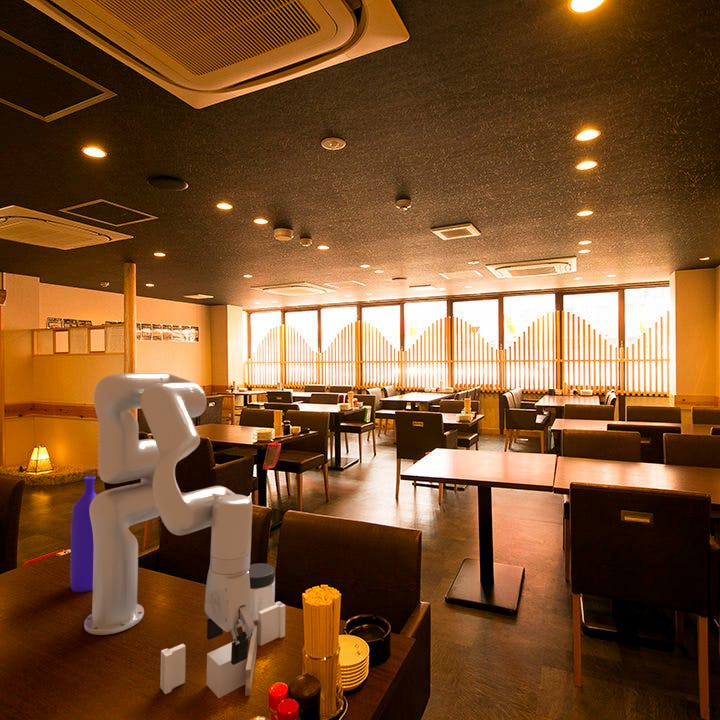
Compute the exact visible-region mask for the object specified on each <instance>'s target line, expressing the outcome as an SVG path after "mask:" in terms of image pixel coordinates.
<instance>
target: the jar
mask: <svg viewBox="0 0 720 720" xmlns="http://www.w3.org/2000/svg"><path fill="white" fill-rule="evenodd" d="M248 571H249V578H250V617H251V619H252V621H254V620H258V612H259V611H261V610H264V609H266V608H268V607H271V606H273V605H275V603H276V602H275V597H276V591H275V590H276V573H275V571H276V570H275V567H274V566H273V565H271V564H269V563H264V562H263V563H262V562H260V563H252V564H251V563H250V569H249V570H248ZM240 622H241V621H240V620H238V623H240Z"/></svg>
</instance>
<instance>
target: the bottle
mask: <svg viewBox="0 0 720 720" xmlns="http://www.w3.org/2000/svg"><path fill="white" fill-rule="evenodd" d="M96 479H97V477H96V476H93V475H92V476H85V477H84V478H83V479H82V480H83V481H85V489H84V493H83V494H82V495H81V496H80V498H79V499H78V500H76V502H75V503H74V505H73V508H72V511H71V525H70V526H71V530H70V560H69V561H70V566H69V567H70V569H69V570H70V571H69V572H70V573H69V575H70V576H69V578H70V589H71V590H72V592H75V593H85V592H86V593H87V592H91V591H93V531H92V525H91V520H90V513H89V508H90V504H91V502H92V500H93V499H94V497H96V496H97V495H98V494H97V493H96V492H95V489H94V488H95V487H94V485H95V483H94V482H95V480H96Z"/></svg>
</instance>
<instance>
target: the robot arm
mask: <svg viewBox="0 0 720 720" xmlns="http://www.w3.org/2000/svg"><path fill="white" fill-rule="evenodd" d="M207 403H208V402H207V396H206V393H205V391H204V390H203V388H202V386H200V385H199V384H197V383H196V382H194V381H191V380H188V379H186V378H183V377H179V376H176V375H174V374H170V373H165V372H164V373H161V372H159V373H158V372H153V373H147V372H146V373H143V372H141V373H140V372H133V373H131V372H128V373H115V374H110V375H107V376H105V377H103V378H101V379H100V380H99V381H98V383H97V384H96V386H95V389H94V394H93V404H94V409H95V414H96V418H97V421H98V422H97V423H98V452H97V453H98V455H97V456H98V459H97V460H98V461H97V463H98V464H97V465H98V466H97V467H98V468H97V470H98V476H99V478H100V479H101V481H102V482H103V483H106V484H121V483H126V482H130V481H135V480H140V482H138V483H133V484H127V485H124V486H119V487H113V488H109V489H107V490H105V491H104V490H103V491H102V492H100V493H98V494H97V496H96V497H94V499H93V500H92V502H91V504H90V508H89V513H90V520H91V525H92V531H93V590H92V603H91V604H92V606H91V607H92V609H91V614H89V615H88V616H87V617H86V618H85V620H84V624H83V626H84V630H85V631H86V632H87V633H88V634H91V635H98V636H100V635H101V636H103V635H105V636H107V635H112V634H118V633H120V632H123V631H124V632H125V630H129V629H131V628H132V627H134V626H135V625H137V624H138V623H140V621H141V620H142V619H143V617H144V615H145V609H144V607H143V606H142V605H141V604H139V603H138V579H139V577H138V576H139V575H138V573H139V570H138V569H139V543H138V539H137V538H136V536H135V535H134V534H133V533H132V531H130V529H129V528H130V527H131V526H134V525H136V524H139V523H144V522H145V521H149V520H153V519H155V518H158V517H160V519H161V520H162V523H163V525H164V526H165V527H166V529H167V530H168V531H169V532H170V533H171V534H173V535H176V536H184V535H189V534H190V533H191V534H192V533H195V532H197V531H200V530H203V529H206V528H208V527H209V528H210V527H211V536H210V539H211V540H210V561H209V567H208V568H209V569H208V573H207V576H206V577H207V579H206V585H205V590H204V593H205V595H204V612H205V615H206V618H207V621H206V623H207V624H206V639H207V640H208V641H210V640H212V639H215V638H217V637H220V636H222V635H223V631H224V632H226V633H228V632H231V636H232V639H233V641H234V642H233V641H232V642H233V643H232V650H231V664H232V665H235V664H237V663H239V662H241V661H243V660H245V659H247V657H248V654H249V641H250V640H251V636H252V632H253V630H254V628H255V625H254V623H253V621H252V619H251V617H250V578H249V571H248V570H249V569H250V565H251V552H252V551H251V549H252V531H253V530H252V528H253V527H252V525H253V509H254V508H253V502H252V500H251V498H250V497H249V496H247V495H244V494H239V493H237V494H236V493H235V492H233V491H232V490H230V489H229V488H227V487H225V486H222V485H214V486H209V487H205V488H201V489H196V490H193V491H189V492H186V493H182V492H181V490H180V487H179V485H178V482H177V480H176V466H177V464H178V462H180V461H181V460H182V459H185V458H186V457H187V456H189V455H190V454H191V453H192V452H194V451H195V450H197V448H199V445H200V443H201V437H200V435H199V432H198V430H197V428H196V426H195V424H194V421H193V418H197V417H200V416H201V415H202V414H204V413H205V411H206V408H207ZM136 409H138V410H139V409H141V411H142V412H143V416H144V418H145V421H146V422H147V426H148V428H149V429H150V432H151V435H152V437H153V438H145V439H139V432H140V431H139V429H140V427H139V422H138V419H137V417H136V416H135V414H134V413H133V412H132V411H131V410H136ZM239 620H240V621H241V622H240V623H239V622H238V621H239ZM237 622H238V623H237ZM238 628H241V629H242V632H241V633H238V630H237V629H238Z"/></svg>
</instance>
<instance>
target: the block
mask: <svg viewBox="0 0 720 720" xmlns="http://www.w3.org/2000/svg"><path fill="white" fill-rule="evenodd" d="M233 642H234V640H233V641H232V642H229V643H226V644H225V645H223V646H220V647H219V648H216V649H214V650H212V651H209V652H208V653H206V686H207V687H208V688H209V689H210V690H211V691H212V693H214V695H215V696H216V697H217V698H218V699H221V698H222V697H224V696H225V695H228V694H230V693H231V692H232V693H233V691H235V690H237V689H239V688H241V687H243V686H244V685H245V686H246V665H247V659H248V657H247V659H245V660H243V661H241V662H239V663H237V664H235V665H232V664H231V650H232V643H233Z"/></svg>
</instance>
